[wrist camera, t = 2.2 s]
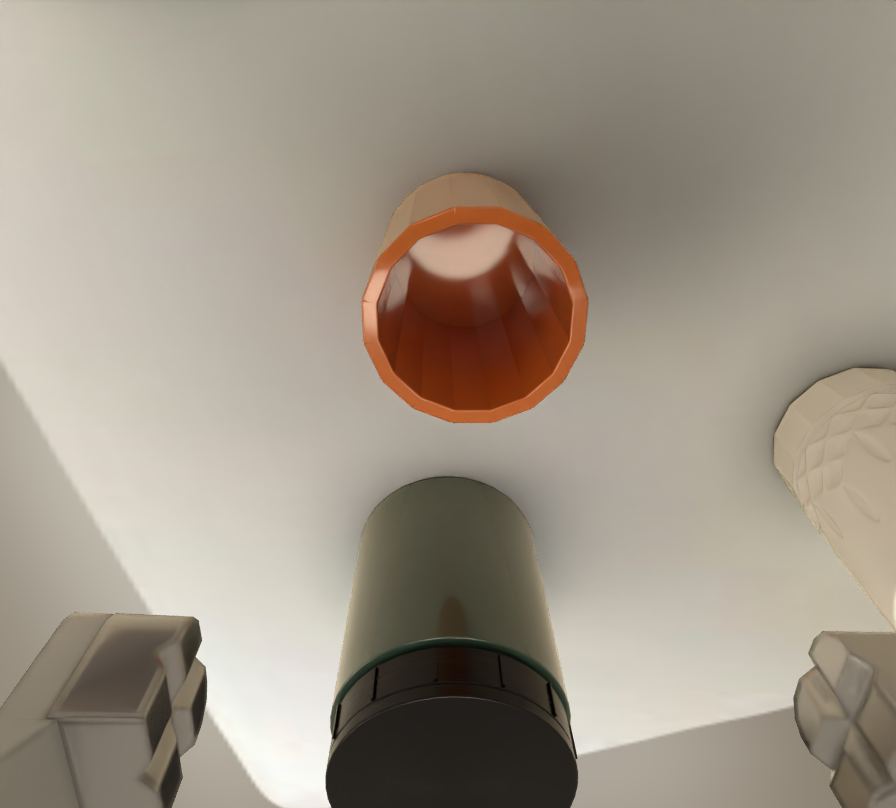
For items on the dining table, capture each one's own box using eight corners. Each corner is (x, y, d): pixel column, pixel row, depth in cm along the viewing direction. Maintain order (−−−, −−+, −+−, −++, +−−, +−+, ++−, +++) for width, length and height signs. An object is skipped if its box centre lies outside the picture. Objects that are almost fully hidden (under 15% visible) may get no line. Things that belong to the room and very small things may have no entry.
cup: (357, 211, 26) (323, 261, 18) (511, 145, 25) (545, 168, 17) (421, 353, 28) (415, 451, 20) (563, 298, 27) (614, 378, 20)
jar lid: (292, 688, 22) (279, 741, 20) (522, 615, 21) (530, 664, 19) (391, 831, 25) (388, 888, 24) (596, 774, 24) (609, 829, 22)
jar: (330, 512, 31) (276, 723, 21) (498, 451, 30) (531, 643, 20) (402, 637, 35) (387, 874, 24) (556, 588, 34) (610, 814, 23)
